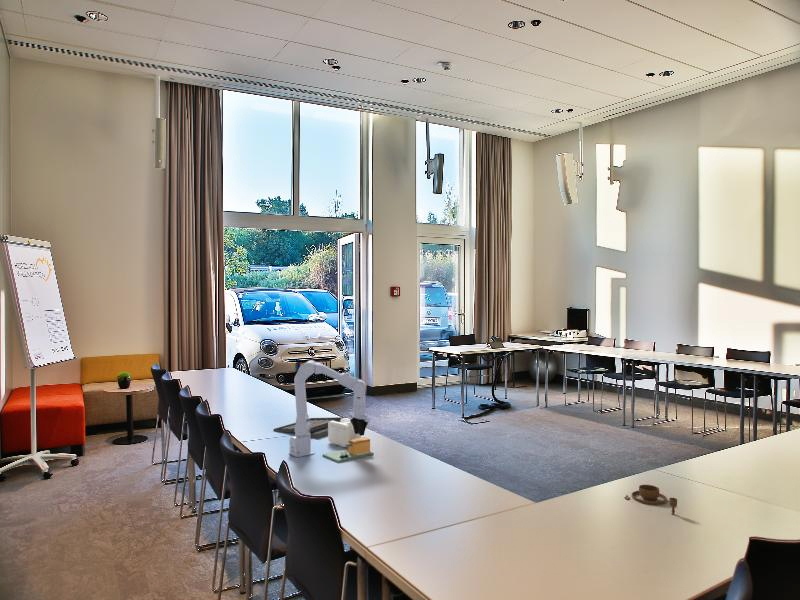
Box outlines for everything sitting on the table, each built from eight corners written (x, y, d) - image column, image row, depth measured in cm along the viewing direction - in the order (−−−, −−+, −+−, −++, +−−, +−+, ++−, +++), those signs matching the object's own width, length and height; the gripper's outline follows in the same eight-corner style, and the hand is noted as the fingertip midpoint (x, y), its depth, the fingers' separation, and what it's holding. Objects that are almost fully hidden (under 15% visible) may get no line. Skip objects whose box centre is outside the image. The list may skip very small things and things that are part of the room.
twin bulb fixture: (341, 458, 256) (341, 451, 256) (339, 457, 257) (339, 451, 257) (348, 456, 259) (348, 450, 259) (347, 456, 260) (347, 449, 260)
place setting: (674, 498, 211) (674, 482, 211) (680, 518, 192) (680, 501, 192) (624, 492, 217) (624, 477, 217) (624, 511, 199) (624, 494, 199)
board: (338, 462, 253) (338, 460, 253) (322, 456, 263) (322, 453, 263) (373, 454, 266) (373, 452, 266) (357, 448, 276) (357, 446, 276)
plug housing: (349, 456, 259) (349, 443, 259) (343, 454, 263) (343, 441, 263) (370, 451, 267) (370, 439, 267) (364, 449, 271) (364, 437, 271)
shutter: (275, 441, 311) (318, 442, 295) (273, 429, 311) (316, 428, 295) (312, 426, 338) (354, 426, 322) (311, 415, 338) (352, 414, 322)
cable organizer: (362, 444, 283) (362, 421, 283) (346, 448, 276) (346, 425, 276) (342, 439, 294) (342, 417, 293) (326, 443, 286) (326, 420, 286)
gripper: (375, 407, 263) (375, 436, 263) (357, 402, 274) (357, 430, 274) (363, 409, 258) (363, 438, 258) (345, 404, 269) (345, 432, 270)
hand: (359, 434), depth 266 cm, fingers open, 3 cm apart
